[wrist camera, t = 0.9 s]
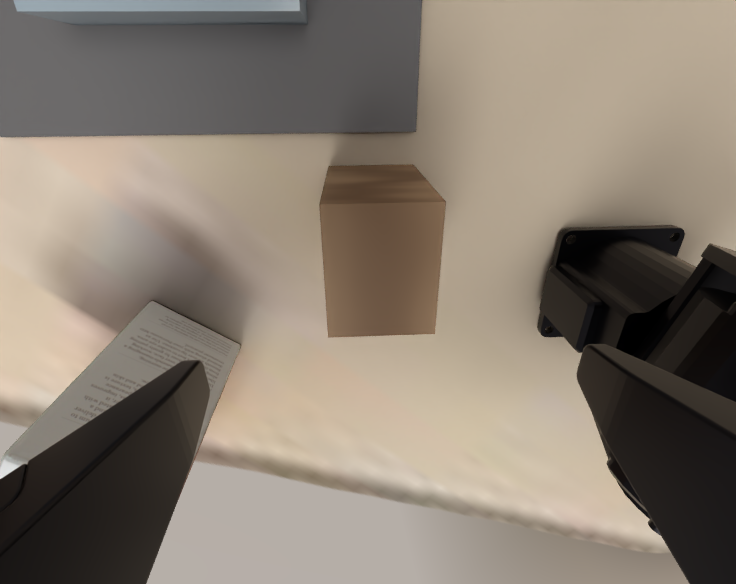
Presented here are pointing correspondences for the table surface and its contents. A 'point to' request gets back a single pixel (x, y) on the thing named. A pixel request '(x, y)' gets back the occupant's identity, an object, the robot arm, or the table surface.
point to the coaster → (213, 74)
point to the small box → (129, 377)
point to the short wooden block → (380, 250)
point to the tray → (168, 12)
